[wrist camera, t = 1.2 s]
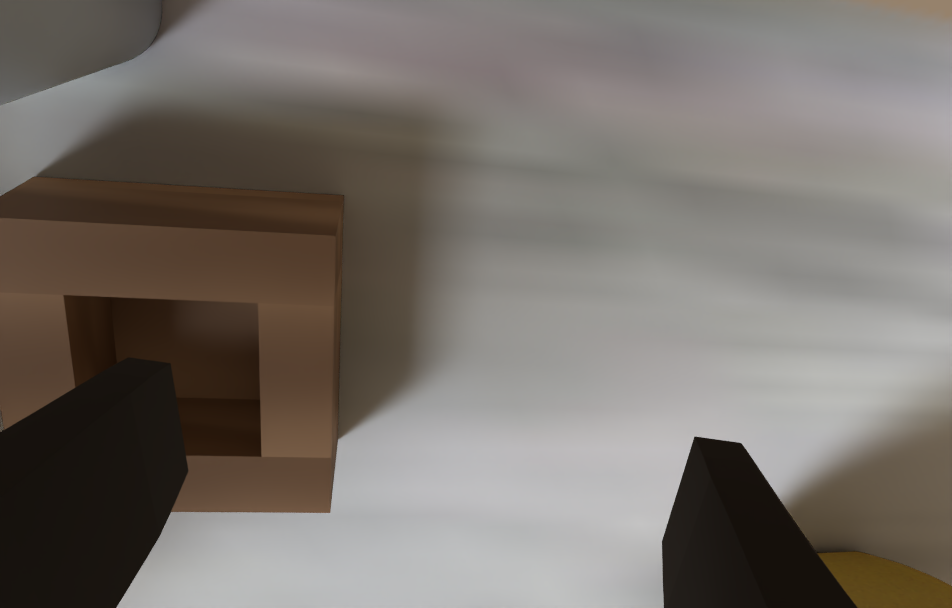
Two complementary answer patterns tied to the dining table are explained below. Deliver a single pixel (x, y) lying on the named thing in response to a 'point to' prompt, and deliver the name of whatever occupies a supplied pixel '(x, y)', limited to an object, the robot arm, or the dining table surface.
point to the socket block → (186, 322)
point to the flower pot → (886, 582)
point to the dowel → (69, 40)
